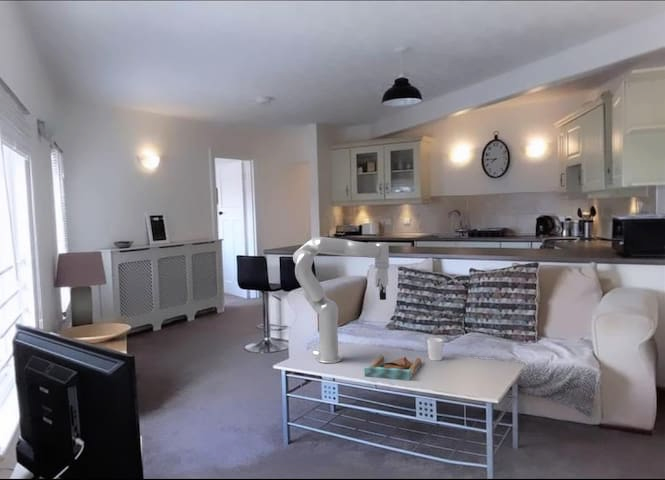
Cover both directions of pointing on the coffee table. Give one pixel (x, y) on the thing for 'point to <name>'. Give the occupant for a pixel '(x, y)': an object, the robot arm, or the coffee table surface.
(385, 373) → the teal open box
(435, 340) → the white cup
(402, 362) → the brown elongated piece
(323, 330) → the robot arm
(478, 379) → the coffee table surface
